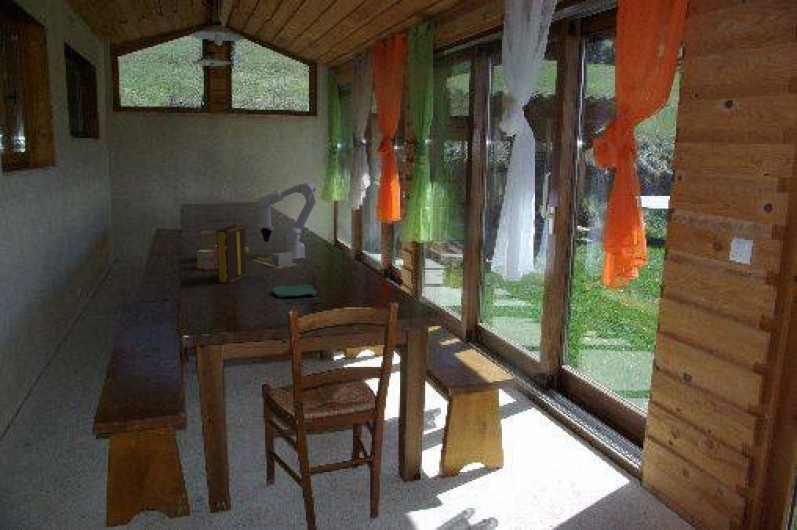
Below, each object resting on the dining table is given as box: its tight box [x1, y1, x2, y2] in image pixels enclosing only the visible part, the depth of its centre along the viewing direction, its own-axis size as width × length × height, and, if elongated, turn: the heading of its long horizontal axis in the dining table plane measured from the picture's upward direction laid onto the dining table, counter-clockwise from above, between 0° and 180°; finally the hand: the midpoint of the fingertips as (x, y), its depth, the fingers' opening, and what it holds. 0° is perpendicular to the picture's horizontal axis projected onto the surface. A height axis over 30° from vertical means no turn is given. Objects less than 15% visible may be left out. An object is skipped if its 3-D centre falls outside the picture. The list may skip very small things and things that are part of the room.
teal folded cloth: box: [271, 283, 323, 306], centre depth 275 cm, size 20×30×2 cm, turn 19°
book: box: [216, 224, 250, 284], centre depth 307 cm, size 22×8×25 cm, turn 168°
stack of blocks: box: [196, 245, 218, 270], centre depth 332 cm, size 21×6×12 cm, turn 90°
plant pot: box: [200, 229, 217, 250], centre depth 353 cm, size 15×15×16 cm
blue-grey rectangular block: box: [271, 252, 279, 263], centre depth 342 cm, size 4×10×5 cm, turn 40°
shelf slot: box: [251, 251, 299, 269], centre depth 346 cm, size 14×26×8 cm, turn 40°
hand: (266, 241), depth 361 cm, fingers closed
